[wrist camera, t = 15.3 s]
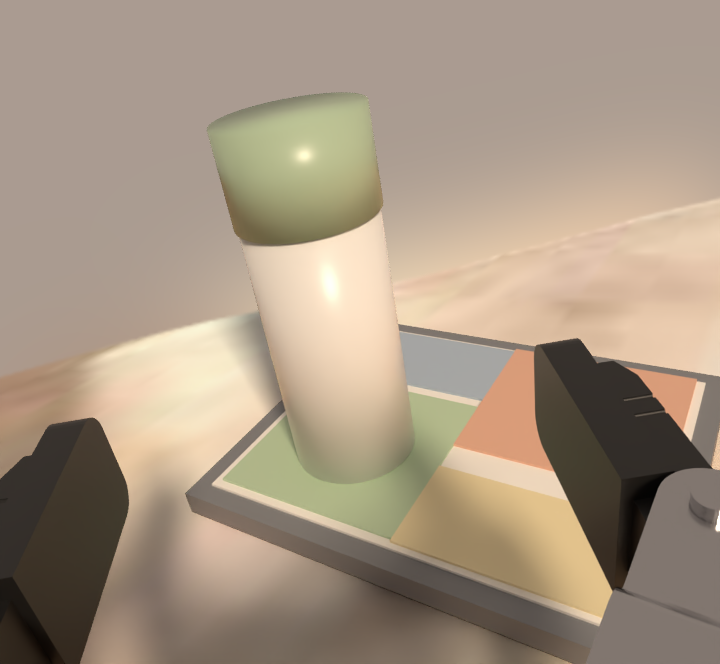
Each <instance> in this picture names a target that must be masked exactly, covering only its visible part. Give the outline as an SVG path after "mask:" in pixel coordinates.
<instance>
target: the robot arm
mask: <svg viewBox="0 0 720 664" xmlns="http://www.w3.org/2000/svg"><path fill="white" fill-rule="evenodd" d="M534 387H535V418H536V425H537V430H538V435H539V438H540V441H541V444H542V447H543V449H544V451H545V453H546V455H547V457H548V459H549V461H550V464H551V466H552V468H553V470H554V472H555V474H556V476H557V478H558V480H559V482H560V484H561V486H562V488H563V490H564V492H565V494H566V497H567V499H568V501H569V503H570V505H571V507H572V509H573V511H574V513H575V515H576V517H577V519H578V521H579V523H580V525H581V527H582V530H583V532H584V534H585V536H586V538H587V540H588V542H589V544H590V546H591V548H592V550H593V552H594V554H595V556H596V558H597V561H598V563H599V565H600V567H601V569H602V571H603V573H604V575H605V577H606V579H607V581H608V583H609V585H610V587H611V589H612V591H613V592H612V594H611V597H610V599H609V601H608V604H607V607H606V609H605V612H604V615H603V618H602V620H601V623H600V626H599V628H598V631H597V634H596V637H595V639H594V642H593V645H592V648H591V650H590V653H589V656H588V658H587V661H586V664H720V470H715V469H713V468H712V467H711V466H710V465H709V463H708V462H707V461H706V460H705V458H704V457H703V456H702V455H701V453H700V452H699V451H698V450H697V448H696V447H695V446H694V445H693V443H692V442H691V441H690V440H689V438H688V437H687V436H686V435H685V433H684V432H683V431H682V430H681V428H680V427H679V426H678V425H677V423H676V422H675V421H674V420H673V418H672V417H671V416H670V415H669V413H666V412H665V408H664V407H663V406H662V404H661V403H660V402H659V401H658V399H657V398H656V397H653V393H652V392H651V391H650V389H649V388H648V387H647V386H646V384H645V383H644V382H643V381H642V379H641V378H640V377H639V376H638V375H637V374H636V373H634V372H632V371H631V370H629V369H627V368H625V367H624V366H622V365H620V364H618V363H617V362H615V361H607V362H601V363H597V362H596V361H595V359H594V358H593V356H592V355H591V354H590V352H589V351H588V350H587V348H586V347H585V345H584V344H583V343H582V341H581V340H580V339H578V338H576V339H570V340H564V341H558V342H552V343H546V344H540V345H536V347H535V350H534ZM128 506H129V497H128V489H127V484H126V481H125V478H124V476H123V474H122V472H121V469H120V467H119V465H118V462H117V460H116V458H115V456H114V453H113V451H112V449H111V446H110V444H109V442H108V440H107V437H106V435H105V433H104V430H103V428H102V426H101V424H100V423H99V422H98V420H96V419H95V418H87V419H81V420H75V421H69V422H63V423H56V424H51V425H49V426H48V427H47V429H46V430H45V432H44V434H43V436H42V438H41V439H40V441H39V443H38V445H37V447H36V448H35V450H34V452H33V454H32V455H31V456H25V457H23V458H22V459H21V460H20V461H19V462H18V463H17V464H16V465H15V466H14V467H13V468H12V469H10V470H9V471H8V472H7V473H6V474H5V475H4V476H3V477H2V478H1V479H0V664H80V661H81V658H82V655H83V652H84V648H85V645H86V642H87V639H88V636H89V633H90V630H91V626H92V623H93V620H94V617H95V614H96V611H97V608H98V605H99V601H100V598H101V595H102V592H103V589H104V586H105V583H106V580H107V576H108V573H109V570H110V567H111V564H112V561H113V558H114V555H115V551H116V548H117V545H118V542H119V539H120V536H121V533H122V529H123V526H124V523H125V520H126V517H127V513H128Z"/></svg>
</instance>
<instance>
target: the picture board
mask: <svg viewBox="0 0 720 664" xmlns="http://www.w3.org/2000/svg"><path fill="white" fill-rule="evenodd" d="M398 327H399V333H400V340H401V347H402V353H403V360H404V367H405V374H406V380H407V387H408V394H409V400H410V407H411V414H412V420H413V427H414V434H415V441H414V446H413V448H412V451H411V452H410V454H409V456H408V457H407V458H406V459H405V460H404V462H402V463H401V464H400V465H399V466H398V467H397V468H395V469H394V470H392V471H391V472H389V473H387V474H385V475H383V476H381V477H379V478H376V479H373V480H370V481H366V482H361V483H355V484H336V483H330V482H325V481H322V480H319V479H317V478H315V477H313V476H311V475H310V474H309V473H307V472H306V471H305V470H304V469H303V467H302V466H301V464H300V462H299V459H298V456H297V452H296V448H295V444H294V441H293V437H292V433H291V429H290V426H289V422H288V418H287V414H286V411H285V407H284V403H283V400H282V401H280V402H279V403H278V404H277V405H276V406H275V407H274V408H273V409H272V410H271V411H270V412H269V413H268V414H267V415H266V416H265V417H264V418H263V419H262V420H261V421H260V422H259V423H258V424H257V425H256V426H255V427H254V428H253V429H252V430H250V431H249V432H248V433H247V434H246V435H245V436H244V437H243V438H242V439H241V440H240V441H239V442H238V443H237V444H236V445H235V446H234V447H233V448H232V449H231V450H230V451H229V452H228V453H227V454H226V455H225V456H224V457H223V458H221V459H220V460H219V461H218V462H217V463H216V464H215V465H214V466H213V467H212V468H211V469H210V470H209V471H208V472H207V473H206V474H205V475H204V476H203V477H202V478H201V479H200V480H199V481H198V482H197V483H196V484H195V485H194V486H193V487H191V488H190V489H189V490H188V491H187V492H186V493H185V494H186V497H187V500H188V502H189V505H190V507H191V510H192V512H195V513H197V514H200V515H202V516H205V517H207V518H210V519H212V520H215V521H217V522H220V523H222V524H225V525H227V526H230V527H232V528H235V529H237V530H240V531H242V532H245V533H247V534H250V535H252V536H255V537H257V538H260V539H262V540H265V541H267V542H270V543H272V544H275V545H277V546H280V547H282V548H285V549H287V550H290V551H292V552H295V553H297V554H300V555H302V556H305V557H307V558H310V559H312V560H315V561H317V562H320V563H322V564H325V565H327V566H330V567H333V568H335V569H338V570H340V571H343V572H345V573H348V574H350V575H353V576H355V577H358V578H360V579H363V580H365V581H368V582H370V583H373V584H375V585H378V586H380V587H383V588H385V589H388V590H390V591H393V592H395V593H398V594H400V595H403V596H405V597H408V598H410V599H413V600H415V601H418V602H420V603H423V604H425V605H428V606H430V607H433V608H435V609H438V610H440V611H443V612H445V613H448V614H450V615H453V616H455V617H458V618H460V619H463V620H465V621H468V622H470V623H473V624H475V625H478V626H481V627H483V628H486V629H488V630H491V631H493V632H496V633H498V634H501V635H503V636H506V637H508V638H511V639H513V640H516V641H518V642H521V643H523V644H526V645H528V646H531V647H533V648H536V649H538V650H541V651H543V652H546V653H548V654H551V655H553V656H556V657H558V658H561V659H563V660H566V661H568V662H571V663H573V664H586V661H587V658H588V656H589V653H590V650H591V648H592V645H593V642H594V639H595V637H596V634H597V631H598V628H599V626H600V623H601V620H602V618H603V615H604V612H605V609H606V607H607V604H608V601H609V599H610V597H611V594H612V592H613V591H612V589H611V587H610V585H609V583H608V581H607V579H606V577H605V575H604V573H603V571H602V569H601V567H600V565H599V563H598V561H597V558H596V556H595V554H594V552H593V550H592V548H591V546H590V544H589V542H588V540H587V538H586V536H585V534H584V532H583V530H582V527H581V525H580V523H579V521H578V519H577V517H576V515H575V513H574V511H573V509H572V507H571V505H570V503H569V501H568V499H567V497H566V494H565V492H564V490H563V488H562V486H561V484H560V482H559V480H558V478H557V476H556V474H555V472H554V470H553V468H552V466H551V464H550V461H549V459H548V457H547V455H546V453H545V451H544V449H543V447H542V444H541V441H540V438H539V435H538V430H537V425H536V418H535V387H534V350H535V346H528V345H522V344H516V343H510V342H504V341H498V340H492V339H485V338H479V337H473V336H467V335H461V334H455V333H449V332H442V331H436V330H430V329H424V328H418V327H412V326H406V325H400V324H398ZM593 358H594V359H595V361H596V362H597V363H601V362H607V361H615V362H617V363H618V364H620V365H622V366H624V367H625V368H627V369H629V370H631V371H632V372H634V373H636V374H637V375H638V376H639V377H640V378H641V379H642V381H643V382H644V383H645V384H646V386H647V387H648V388H649V389H650V391H651V392H652V393H653V397H656V398H657V399H658V401H659V402H660V403H661V404H662V406H663V407H664V408H665V412H666V413H669V415H670V416H671V417H672V418H673V420H674V421H675V422H676V423H677V425H678V426H679V427H680V428H681V430H682V431H683V432H684V433H685V435H686V436H687V437H688V438H689V440H690V441H691V442H692V443H693V445H694V446H695V447H696V448H697V450H698V451H699V452H700V453H701V455H702V456H703V457H704V458H705V460H706V461H707V462H708V463H709V465H710V466H712V461H713V456H714V451H715V447H716V442H717V437H718V432H719V427H720V377H719V376H713V375H706V374H700V373H694V372H688V371H682V370H676V369H670V368H663V367H657V366H651V365H645V364H639V363H633V362H627V361H620V360H614V359H608V358H602V357H596V356H593Z"/></svg>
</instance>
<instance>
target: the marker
mask: <svg viewBox="0 0 720 664" xmlns="http://www.w3.org/2000/svg"><path fill="white" fill-rule="evenodd" d="M207 132H208V136H209V140H210V144H211V147H212V151H213V155H214V158H215V162H216V165H217V170H218V173H219V176H220V180H221V184H222V188H223V191H224V196H225V199H226V203H227V207H228V210H229V214H230V217H231V221H232V225H233V229H234V232H235V234H236V235H237V236H238V237H239V238H240V242H241V246H242V250H243V253H244V257H245V261H246V265H247V268H248V272H249V275H250V280H251V283H252V287H253V291H254V294H255V298H256V301H257V306H258V309H259V313H260V317H261V321H262V324H263V328H264V332H265V336H266V339H267V343H268V347H269V351H270V354H271V358H272V362H273V366H274V369H275V373H276V377H277V381H278V384H279V388H280V392H281V396H282V399H283V403H284V407H285V411H286V414H287V418H288V422H289V426H290V429H291V433H292V437H293V441H294V444H295V448H296V452H297V456H298V459H299V462H300V464H301V466H302V467H303V469H304V470H305V471H306V472H307V473H309V474H310V475H311V476H313V477H315V478H317V479H319V480H322V481H325V482H330V483H336V484H355V483H361V482H366V481H370V480H373V479H376V478H379V477H381V476H383V475H385V474H387V473H389V472H391V471H392V470H394V469H395V468H397V467H398V466H399V465H400V464H401V463H402V462H404V460H405V459H406V458H407V457H408V456H409V454H410V452H411V451H412V448H413V446H414V441H415V434H414V427H413V420H412V414H411V407H410V400H409V394H408V387H407V380H406V374H405V367H404V360H403V353H402V347H401V340H400V333H399V327H398V320H397V313H396V307H395V300H394V293H393V286H392V280H391V274H390V266H389V260H388V254H387V246H386V240H385V233H384V226H383V220H382V213H381V208H382V206H383V198H382V190H381V183H380V177H379V170H378V163H377V156H376V149H375V142H374V136H373V129H372V122H371V115H370V108H369V102H368V98H367V97H366V96H365V95H362V94H357V93H323V94H314V95H305V96H299V97H293V98H288V99H282V100H277V101H272V102H268V103H264V104H260V105H256V106H252V107H249V108H246V109H242V110H239V111H237V112H234V113H231V114H228V115H226V116H224V117H221V118H219V119H217V120H216V121H214V122H212V123H211V124H210V125H209V126H208V127H207Z"/></svg>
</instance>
